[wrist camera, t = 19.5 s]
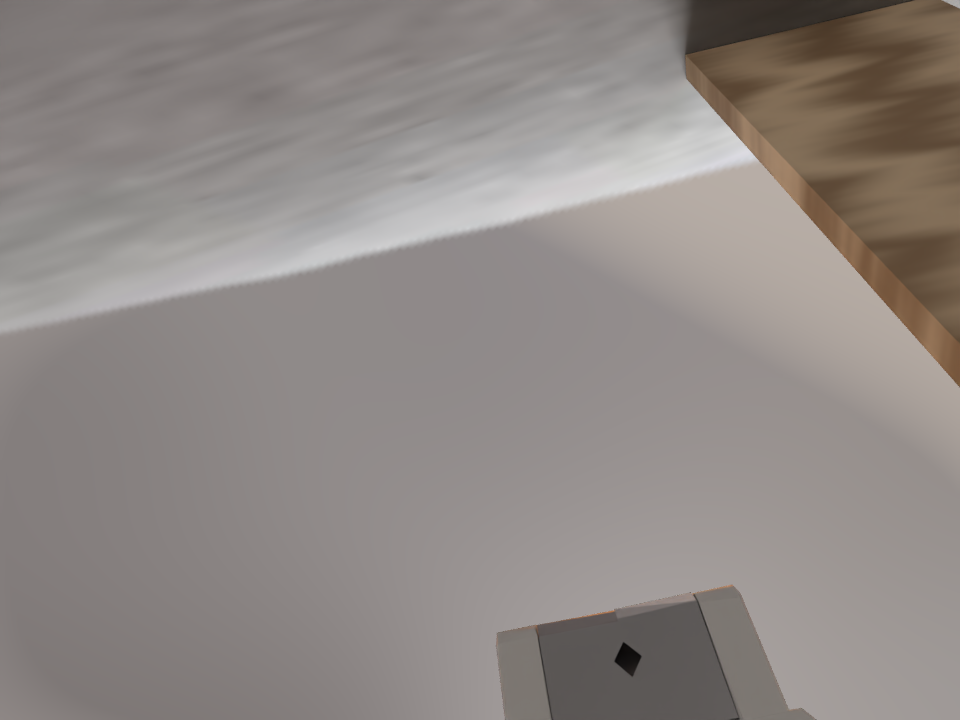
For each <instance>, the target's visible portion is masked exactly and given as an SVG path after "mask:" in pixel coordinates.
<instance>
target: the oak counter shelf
mask: <svg viewBox="0 0 960 720" xmlns="http://www.w3.org/2000/svg"><path fill="white" fill-rule="evenodd" d="M685 57H686V76H687V80H688V81H689V82H690V83H691V84H692V86H693V87H694V88H695V89H696V90H697V91H698V92H699V93H700V95H701V96H702V97H703V98H704V99H705V100H706V101H707V102H708V104H709V105H710V106H711V107H712V108H713V109H714V110H715V111H716V113H717V114H718V115H719V116H720V117H721V118H722V119H723V121H724V122H725V123H726V124H727V125H728V126H729V127H730V128H731V130H732V131H733V132H734V133H735V134H736V135H737V136H738V137H739V139H740V140H741V141H742V142H743V143H744V144H745V145H746V146H747V148H748V149H749V150H750V151H751V152H752V153H753V154H754V156H755V157H756V158H757V159H758V160H759V161H760V162H761V163H762V165H763V166H764V167H765V168H766V169H767V170H768V171H769V172H770V174H771V175H772V176H773V177H774V178H775V179H776V180H777V181H778V183H779V184H780V185H781V186H782V187H783V188H784V189H785V190H786V192H787V193H788V194H789V195H790V196H791V197H792V198H793V200H794V201H795V202H796V203H797V204H798V205H799V206H800V207H801V209H802V210H803V211H804V212H805V213H806V214H807V215H808V216H809V218H810V219H811V220H812V221H813V222H814V223H815V224H816V225H817V227H818V228H819V229H820V230H821V231H822V232H823V233H824V234H825V236H826V237H827V238H828V239H829V240H830V241H831V242H832V243H833V245H834V246H835V247H836V248H837V249H838V250H839V251H840V253H841V254H842V255H843V256H844V257H845V258H846V259H847V260H848V262H849V263H850V264H851V265H852V266H853V267H854V268H855V270H856V271H857V272H858V273H859V274H860V275H861V276H862V277H863V279H864V280H865V281H866V282H867V283H868V284H869V285H870V286H871V288H872V289H873V290H874V291H875V292H876V293H877V294H878V296H879V297H880V298H881V299H882V300H883V301H884V302H885V303H886V305H887V306H888V307H889V308H890V309H891V310H892V311H893V312H894V313H895V315H896V316H897V317H898V318H899V319H900V320H901V321H902V323H903V324H904V325H905V326H906V327H907V328H908V329H909V331H910V332H911V333H912V334H913V335H914V336H915V337H916V338H917V340H918V341H919V342H920V343H921V344H922V345H923V346H924V347H925V349H926V350H927V351H928V352H929V353H930V354H931V355H932V356H933V358H934V359H935V360H936V361H937V362H938V363H939V364H940V366H941V367H942V368H943V369H944V370H945V371H946V372H947V373H948V375H949V376H950V377H951V378H952V379H953V380H954V381H955V382H956V384H957V385H958V386H959V387H960V9H959V8H957V7H955V6H953V5H950V4H948V3H946V2H944V1H942V0H914V1H910V2H906V3H902V4H897V5H893V6H889V7H885V8H881V9H876V10H872V11H868V12H864V13H860V14H855V15H851V16H847V17H843V18H838V19H834V20H830V21H826V22H822V23H817V24H813V25H809V26H805V27H801V28H796V29H792V30H788V31H784V32H780V33H775V34H771V35H767V36H763V37H758V38H754V39H750V40H746V41H742V42H737V43H733V44H729V45H725V46H721V47H716V48H712V49H708V50H704V51H700V52H695V53H691V54H687V55H685Z"/></svg>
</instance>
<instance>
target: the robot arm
mask: <svg viewBox="0 0 960 720" xmlns="http://www.w3.org/2000/svg"><path fill="white" fill-rule="evenodd" d="M496 649H497V657H498V666H499V674H500V683H501V691H502V699H503V708H504V716H505V720H816V719H815V718H814V717H812V716H811V715H810V714H809V713H807V712H806V711H805V710H804V709H802V708H799V709H792V710H789V709H788V706H787V704H786V702H785V699H784V697H783V695H782V692H781V690H780V687H779V685H778V683H777V680H776V678H775V676H774V673H773V671H772V668H771V666H770V663H769V661H768V659H767V656H766V654H765V652H764V649H763V646H762V644H761V642H760V639H759V637H758V634H757V632H756V630H755V627H754V625H753V623H752V620H751V618H750V616H749V613H748V611H747V608H746V606H745V604H744V601H743V598H742V596H741V594H740V592H739V591H738V590H737V589H736V588H735V587H734V586H733V585H728V586H724V587H719V588H715V589H710V590H706V591H701V592H697V593H693V594H692V593H691V592H690V593H686V594H681V595H677V596H672V597H668V598H663V599H659V600H655V601H650V602H645V603H640V604H636V605H631V606H627V607H622V608H618V609H614V610H613V611H608V612H603V613H597V614H592V615H587V616H582V617H577V618H571V619H566V620H561V621H556V622H551V623H545V624H540V625H533V626H528V627H522V628H518V629H513V630H508V631H503V632H498V633H497V642H496Z"/></svg>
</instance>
